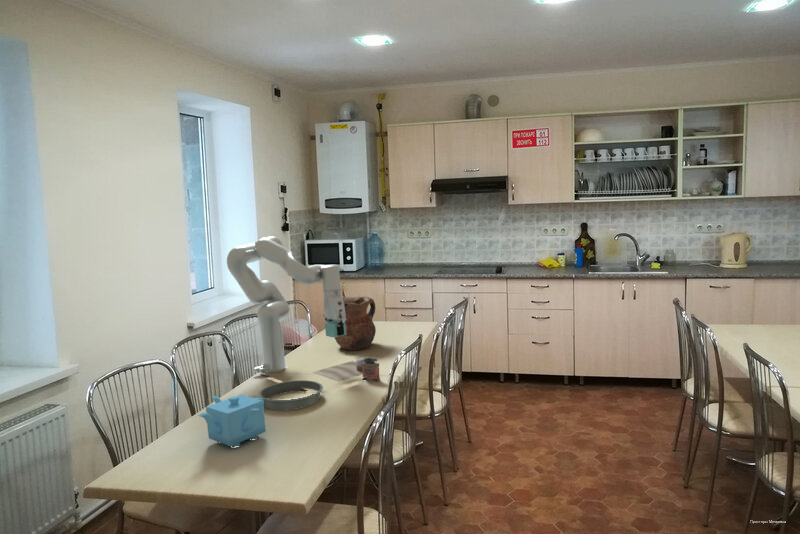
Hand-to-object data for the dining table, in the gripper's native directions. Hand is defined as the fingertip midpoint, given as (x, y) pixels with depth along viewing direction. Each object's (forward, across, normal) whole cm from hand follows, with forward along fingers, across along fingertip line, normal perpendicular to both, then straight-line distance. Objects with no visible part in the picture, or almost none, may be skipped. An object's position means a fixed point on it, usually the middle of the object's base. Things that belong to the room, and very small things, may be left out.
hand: (336, 333), depth 266 cm
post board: (+18, -2, -2) cm, 19 cm away
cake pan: (+19, -12, +32) cm, 39 cm away
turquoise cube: (+1, 0, 0) cm, 1 cm away
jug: (+18, +32, -33) cm, 50 cm away
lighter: (+19, -17, -4) cm, 26 cm away
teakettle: (+18, -33, +66) cm, 76 cm away
